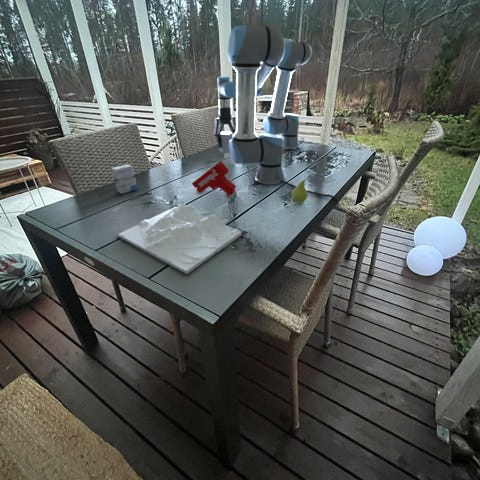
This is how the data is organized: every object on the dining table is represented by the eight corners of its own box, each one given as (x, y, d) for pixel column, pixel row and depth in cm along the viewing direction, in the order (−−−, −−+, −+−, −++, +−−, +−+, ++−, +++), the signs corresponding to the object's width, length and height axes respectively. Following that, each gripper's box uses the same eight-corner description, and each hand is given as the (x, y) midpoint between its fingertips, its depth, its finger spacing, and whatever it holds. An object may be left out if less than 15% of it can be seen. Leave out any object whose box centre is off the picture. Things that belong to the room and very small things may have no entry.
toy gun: (240, 187, 127) (221, 160, 123) (237, 190, 124) (218, 163, 120) (214, 205, 137) (195, 180, 133) (210, 208, 134) (191, 183, 130)
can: (236, 151, 173) (236, 132, 167) (225, 154, 168) (225, 135, 162) (226, 148, 178) (226, 130, 172) (216, 151, 173) (215, 132, 167)
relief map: (186, 274, 80) (184, 260, 77) (118, 236, 97) (114, 224, 95) (241, 234, 98) (241, 222, 95) (176, 209, 116) (174, 198, 113)
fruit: (288, 200, 123) (290, 174, 116) (302, 197, 125) (305, 172, 119) (296, 206, 118) (299, 179, 111) (310, 203, 120) (314, 177, 114)
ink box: (133, 186, 138) (127, 163, 132) (137, 189, 135) (132, 165, 129) (116, 191, 133) (110, 167, 127) (121, 194, 130) (114, 170, 124)
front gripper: (237, 105, 167) (237, 142, 179) (205, 107, 157) (208, 147, 169) (244, 106, 161) (243, 145, 174) (211, 109, 151) (214, 150, 164)
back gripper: (236, 59, 203) (236, 91, 214) (257, 58, 185) (256, 93, 197) (244, 59, 206) (244, 90, 218) (265, 58, 189) (264, 92, 201)
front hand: (226, 146), depth 171 cm, fingers closed on can, 9 cm apart
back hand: (250, 92), depth 207 cm, fingers open, 13 cm apart
